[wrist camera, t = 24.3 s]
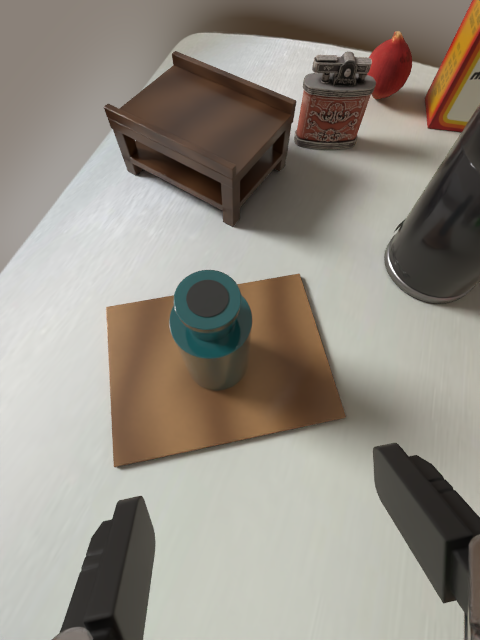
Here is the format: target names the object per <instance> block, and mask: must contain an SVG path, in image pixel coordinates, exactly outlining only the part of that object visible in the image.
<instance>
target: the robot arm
mask: <svg viewBox="0 0 480 640" xmlns="http://www.w3.org/2000/svg"><path fill="white" fill-rule="evenodd" d="M400 226H401V227H400ZM399 227H400V228H399ZM398 228H399V230H398V232H397V233H396V234H395V235H394V236H393V238H392V239H391V241H390V242H389V244H388V246H387V248H386V250H385V256H384V260H385V266H386V269H387V272H388V274H389V276H390V277H391V279H392V280H393V281H394V283H395V284H396V285H397V286H398V287H399V288H400V289H402V290H403V291H404V292H406V293H407V294H409V295H410V296H412V297H414V298H416V299H419V300H422V301H425V302H430V303H449V302H453V301H455V300H458V299H460V298H461V297H463V296H464V295H465V294H467V293H468V292H469V291H470V290H471V289H472V288H473V287H474V286H475V285H476V284H477V283H479V282H480V104H479V106H478V107H477V109H476V110H475V112H474V113H473V115H472V117H471V118H470V120H469V121H468V123H467V124H466V126H465V127H464V129H463V131H462V132H461V134H460V135H459V137H458V139H457V140H456V142H455V143H454V145H453V146H452V148H451V149H450V151H449V153H448V154H447V156H446V157H445V159H444V160H443V162H442V163H441V165H440V167H439V168H438V170H437V171H436V173H435V174H434V176H433V177H432V179H431V180H430V182H429V184H428V185H427V187H426V188H425V190H424V191H423V193H422V194H421V196H420V198H419V199H418V201H417V202H416V204H415V205H414V207H413V208H412V210H411V211H410V213H409V215H408V216H407V218H406V219H405V220H404V221H403V222H402V223H401V224H399V225H398V227H397V228H396V230H397V229H398ZM396 230H395V231H396ZM395 231H394V232H395ZM373 461H374V481H375V487H376V490H377V493H378V496H379V498H380V500H381V502H382V504H383V505H384V507H385V508H386V510H387V512H388V513H389V515H390V517H391V518H392V520H393V522H394V523H395V525H396V526H397V528H398V530H399V531H400V533H401V535H402V536H403V538H404V540H405V541H406V543H407V544H408V546H409V548H410V549H411V551H412V553H413V554H414V556H415V558H416V559H417V561H418V562H419V564H420V566H421V567H422V569H423V571H424V572H425V574H426V576H427V577H428V579H429V581H430V582H431V584H432V585H433V587H434V589H435V590H436V592H437V594H438V595H439V597H440V599H441V600H442V602H443V603H447V602H451V601H455V600H457V602H458V603H459V605H460V606H461V608H462V609H463V611H464V640H480V517H479V516H478V515H477V514H476V513H475V512H474V511H473V510H472V509H471V507H470V506H469V505H468V504H467V503H466V502H465V501H464V500H463V498H462V497H461V496H460V495H459V494H458V493H457V492H456V491H455V490H453V487H452V486H451V485H450V484H449V483H448V482H447V481H446V480H444V478H443V476H442V475H441V474H440V473H439V472H438V471H437V469H436V468H435V467H434V466H433V465H432V464H430V463H429V462H427V461H426V460H424V459H422V458H421V457H419V456H417V455H414V456H410V457H409V456H408V455H407V454H406V453H405V452H404V450H403V449H402V448H401V447H400V446H399V445H398V444H397V443H391V444H386V445H382V446H377V447H374V449H373ZM154 554H155V533H154V529H153V525H152V522H151V519H150V516H149V513H148V510H147V507H146V504H145V501H144V498H143V497H142V496H138V497H133V498H129V499H124V500H119V501H118V503H117V505H116V508H115V512H114V515H113V519H112V520H108V521H103V522H102V524H101V525H100V527H99V528H98V529H97V531H96V532H95V534H94V535H93V536H92V538H91V541H90V544H89V547H88V550H87V553H86V558H85V559H84V562H83V565H82V568H81V569H82V571H81V572H80V574H79V577H78V580H77V583H76V586H75V589H74V592H73V595H72V598H71V601H70V604H69V607H68V610H67V613H66V616H65V619H64V622H63V625H62V628H61V630H60V633H59V634H58V635H57V636H56V637H54V638H53V639H52V640H143V635H144V628H145V620H146V613H147V606H148V598H149V591H150V584H151V576H152V569H153V562H154Z"/></svg>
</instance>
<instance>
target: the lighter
mask: <svg viewBox="0 0 480 640" xmlns="http://www.w3.org/2000/svg"><path fill="white" fill-rule="evenodd" d="M371 64H372V60H371V59H370V58H367V57H354V54H353V53H352V52H346V53H344V54H343V55H342V56H341V57H337V55H317V56H316V57H315V58H314V62H313V68H312V70H313V72H315V73H312V74H308V75H306V76H305V78H304V83H303V89H304V92H303V98H302V104H301V110H300V116H299V122H298V128H297V130H296V132H295V137H294V141H295V143H296V144H297V145H298V146H301V147H306V148H313V149H343V148H351V147H353V146H354V145H355V143H356V140H357V133H358V130H359V127H360V124H361V121H362V118H363V115H364V112H365V110H366V107H367V104H368V101H369V98H370V95H371V94H372V93H373V91H374V88H375V85H376V81H375V79H374V78H373V77H371V76H369V75H367V73H369V70H370V67H371Z"/></svg>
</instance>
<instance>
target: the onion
mask: <svg viewBox="0 0 480 640" xmlns="http://www.w3.org/2000/svg"><path fill="white" fill-rule="evenodd" d="M369 58H370V59H371V60H372V64H371V67H370V70H369V73H367V75H369V76H371V77H373V78H374V79H375V81H376V85H375V88H374V91H373V93H372V96H373V97H374V98H375V99H381V98H385V97H388V96H390V95H392V94H394V93H396V92H397V91H399V90H400V89H401V88H402V87H403V85H404V84H405V82H406V80H407V78H408V77H409V75H410V72H411V68H412V56H411V52H410V49H409V47H408V45H407V43H406V42H405V40H404V38H403V36H402V33H400V32H399V31H397V32H394V36H393V38H392V39H390V40H387V41H385V42H383V43H382V44H381V45H379V46H378V47H377V48H376V49H375V50H374V51H373V52H372V54H371V55H370V57H369Z"/></svg>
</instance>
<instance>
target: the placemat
mask: <svg viewBox="0 0 480 640" xmlns="http://www.w3.org/2000/svg"><path fill="white" fill-rule="evenodd" d="M237 285H238V287H239V289H240V292H241V295H242V296H243V297H244V298H245V299H246V301H247V302H248V304H249V306H250V309H251V312H252V332H251V342H250V353H249V363H248V368H247V371H246V373H245V375H244V377H243V378H242V379H241V380H240V381H239V382H238V383H237V384H236V385H234V386H233V387H231V388H228V389H225V390H219V391H214V390H208V389H205V388H203V387H201V386H199V385H198V384H197V383H196V382H195V381H194V380H193V379H192V378H191V376H190V375H189V373H188V370H187V368H186V366H185V364H184V362H183V359H182V357H181V355H180V353H179V350H178V348H177V346H176V344H175V342H174V339H173V337H172V335H171V332H170V327H169V318H170V313H171V310H172V308H173V306H174V301H173V300H174V296H168V297H162V298H156V299H150V300H145V301H139V302H133V303H127V304H122V305H116V306H110V307H106V312H107V333H108V354H109V375H110V396H111V416H112V437H113V458H114V467H119V466H124V465H128V464H133V463H138V462H142V461H147V460H152V459H156V458H161V457H166V456H170V455H175V454H180V453H184V452H189V451H193V450H198V449H203V448H207V447H212V446H217V445H221V444H226V443H231V442H235V441H240V440H245V439H249V438H254V437H259V436H263V435H268V434H273V433H277V432H282V431H287V430H291V429H296V428H300V427H305V426H310V425H314V424H319V423H324V422H328V421H333V420H338V419H342V418H345V417H346V415H345V412H344V409H343V406H342V403H341V400H340V397H339V394H338V391H337V388H336V384H335V381H334V378H333V375H332V372H331V369H330V366H329V363H328V360H327V357H326V354H325V351H324V348H323V344H322V341H321V338H320V335H319V332H318V329H317V326H316V323H315V320H314V317H313V314H312V311H311V308H310V304H309V301H308V298H307V295H306V292H305V289H304V286H303V283H302V280H301V277H300V274H295V275H289V276H283V277H277V278H272V279H266V280H260V281H254V282H249V283H243V284H237Z"/></svg>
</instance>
